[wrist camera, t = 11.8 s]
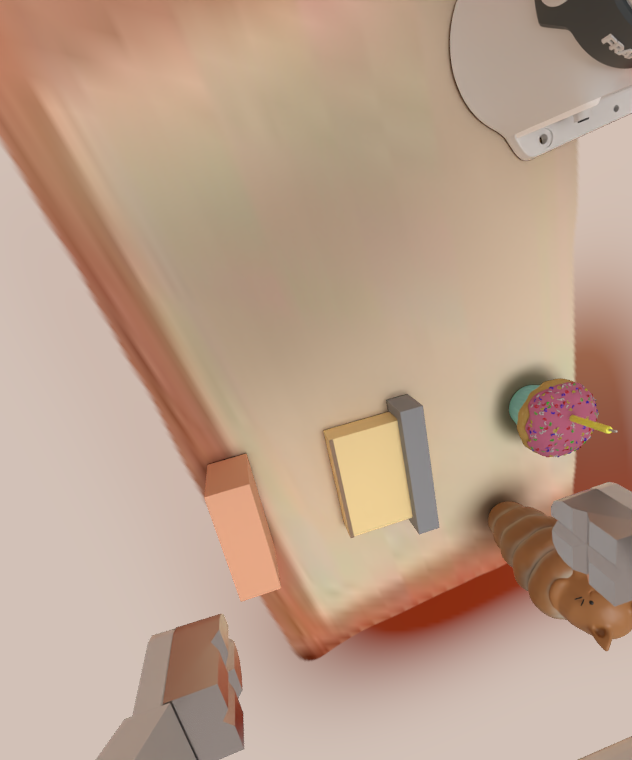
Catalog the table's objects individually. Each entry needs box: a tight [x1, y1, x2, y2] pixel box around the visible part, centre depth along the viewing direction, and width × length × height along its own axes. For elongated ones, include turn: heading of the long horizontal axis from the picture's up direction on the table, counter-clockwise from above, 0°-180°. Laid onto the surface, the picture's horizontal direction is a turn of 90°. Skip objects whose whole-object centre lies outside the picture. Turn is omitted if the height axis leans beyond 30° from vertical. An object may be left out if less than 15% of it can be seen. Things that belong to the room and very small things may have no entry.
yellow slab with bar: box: [324, 394, 439, 538], centre depth 43 cm, size 10×15×4 cm
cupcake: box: [509, 379, 617, 457], centre depth 41 cm, size 9×8×12 cm
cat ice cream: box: [488, 501, 632, 651], centre depth 42 cm, size 9×8×18 cm
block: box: [204, 454, 281, 601], centre depth 40 cm, size 4×12×6 cm, turn 12°
